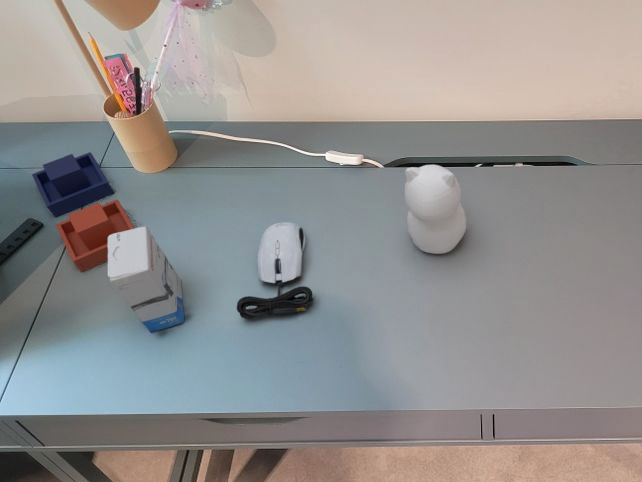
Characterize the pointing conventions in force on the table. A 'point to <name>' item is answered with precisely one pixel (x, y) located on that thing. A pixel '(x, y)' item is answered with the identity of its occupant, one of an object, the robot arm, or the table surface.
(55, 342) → the table surface
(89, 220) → the terracotta block
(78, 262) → the terracotta tray
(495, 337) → the table surface
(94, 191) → the navy tray
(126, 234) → the ink box
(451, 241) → the cat figurine
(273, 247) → the computer mouse
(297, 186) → the table surface
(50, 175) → the navy block
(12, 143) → the table surface
